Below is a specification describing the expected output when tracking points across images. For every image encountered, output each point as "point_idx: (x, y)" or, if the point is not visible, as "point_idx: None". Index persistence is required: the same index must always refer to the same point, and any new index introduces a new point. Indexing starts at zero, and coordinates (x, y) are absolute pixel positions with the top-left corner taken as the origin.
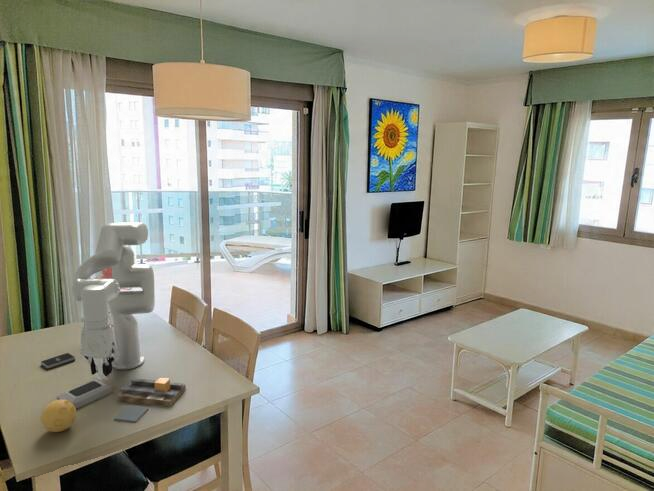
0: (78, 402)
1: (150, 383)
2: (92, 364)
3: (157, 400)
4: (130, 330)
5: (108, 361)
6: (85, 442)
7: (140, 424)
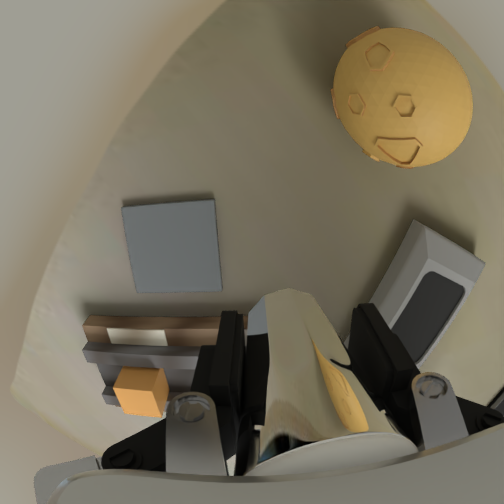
0: (410, 251)
1: None
2: (391, 372)
3: (123, 326)
4: None
5: (168, 436)
6: (224, 50)
7: (103, 201)
